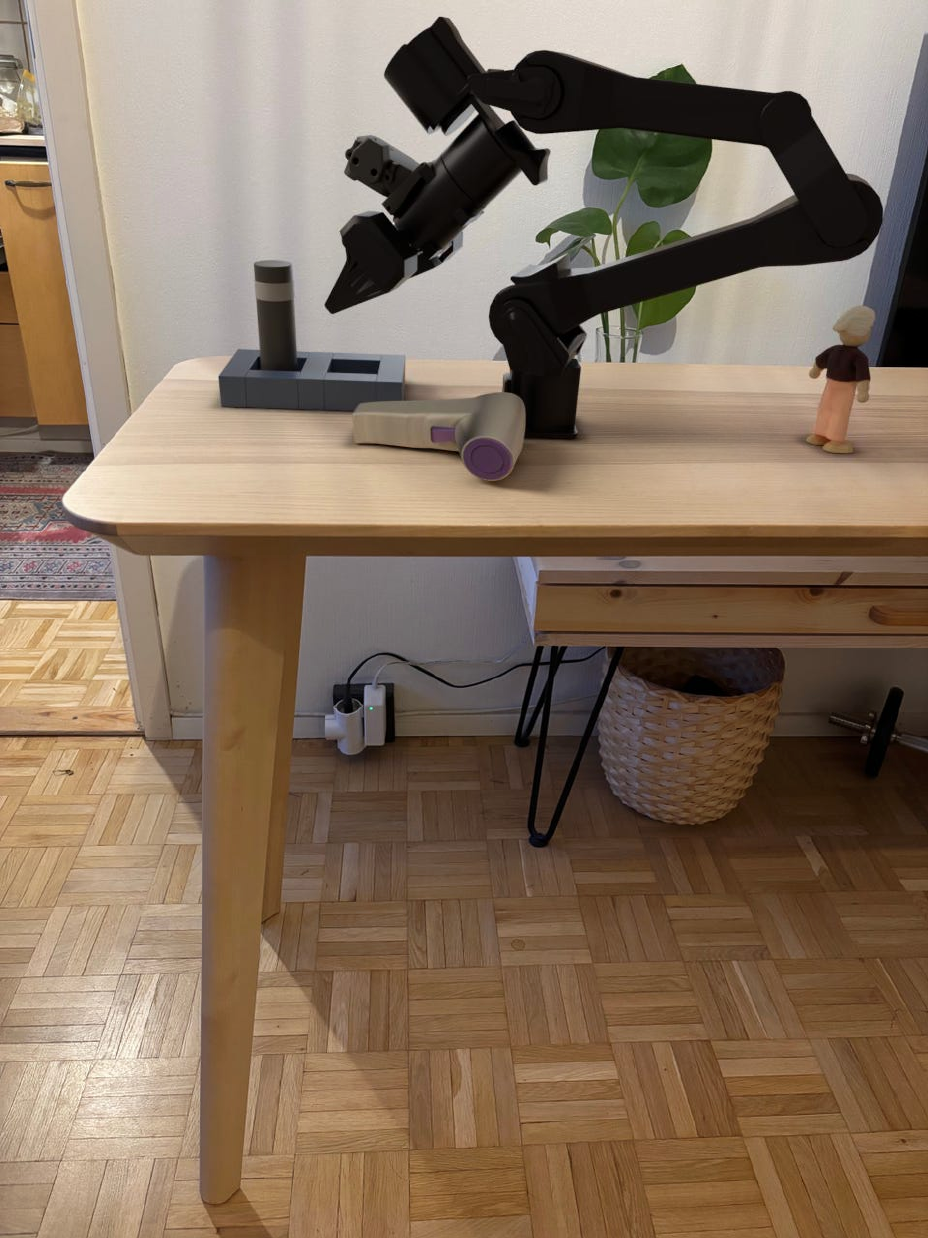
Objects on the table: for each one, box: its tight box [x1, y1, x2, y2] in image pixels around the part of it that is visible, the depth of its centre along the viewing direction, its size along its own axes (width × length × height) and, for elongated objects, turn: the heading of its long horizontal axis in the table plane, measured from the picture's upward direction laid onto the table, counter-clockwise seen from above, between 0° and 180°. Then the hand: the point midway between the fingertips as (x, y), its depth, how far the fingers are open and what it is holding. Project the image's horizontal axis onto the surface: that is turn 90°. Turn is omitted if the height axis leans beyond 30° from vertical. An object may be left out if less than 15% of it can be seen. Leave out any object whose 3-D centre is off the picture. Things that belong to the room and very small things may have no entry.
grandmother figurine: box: [806, 305, 876, 454], centre depth 84 cm, size 8×4×13 cm, turn 31°
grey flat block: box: [218, 348, 406, 412], centre depth 93 cm, size 18×10×3 cm, turn 91°
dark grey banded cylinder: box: [253, 259, 298, 372], centre depth 91 cm, size 4×4×12 cm
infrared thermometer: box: [351, 391, 526, 482], centre depth 79 cm, size 5×12×15 cm
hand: (347, 299), depth 87 cm, fingers open, 9 cm apart
